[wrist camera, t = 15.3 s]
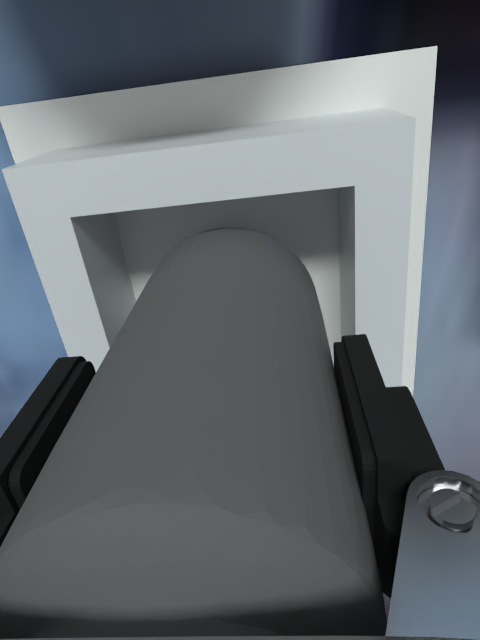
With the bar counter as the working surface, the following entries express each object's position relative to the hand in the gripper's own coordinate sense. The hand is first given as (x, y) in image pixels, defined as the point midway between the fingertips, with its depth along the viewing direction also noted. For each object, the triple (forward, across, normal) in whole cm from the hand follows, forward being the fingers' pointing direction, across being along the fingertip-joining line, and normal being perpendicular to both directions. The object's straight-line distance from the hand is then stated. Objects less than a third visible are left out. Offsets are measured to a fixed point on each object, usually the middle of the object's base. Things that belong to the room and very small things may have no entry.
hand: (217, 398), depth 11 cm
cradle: (+8, 0, 0) cm, 8 cm away
